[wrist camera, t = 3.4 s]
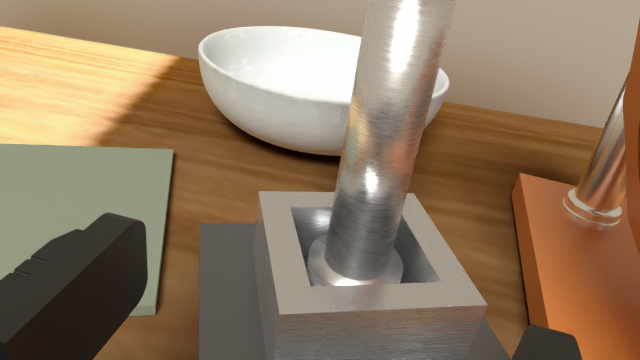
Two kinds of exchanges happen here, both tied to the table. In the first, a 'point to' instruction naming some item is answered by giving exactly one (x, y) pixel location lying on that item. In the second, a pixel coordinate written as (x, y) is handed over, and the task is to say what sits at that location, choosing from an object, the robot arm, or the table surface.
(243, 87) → the serving bowl
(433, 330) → the chuck block
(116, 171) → the rubber mat
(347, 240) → the cylinder
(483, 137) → the table surface
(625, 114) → the desk clock
